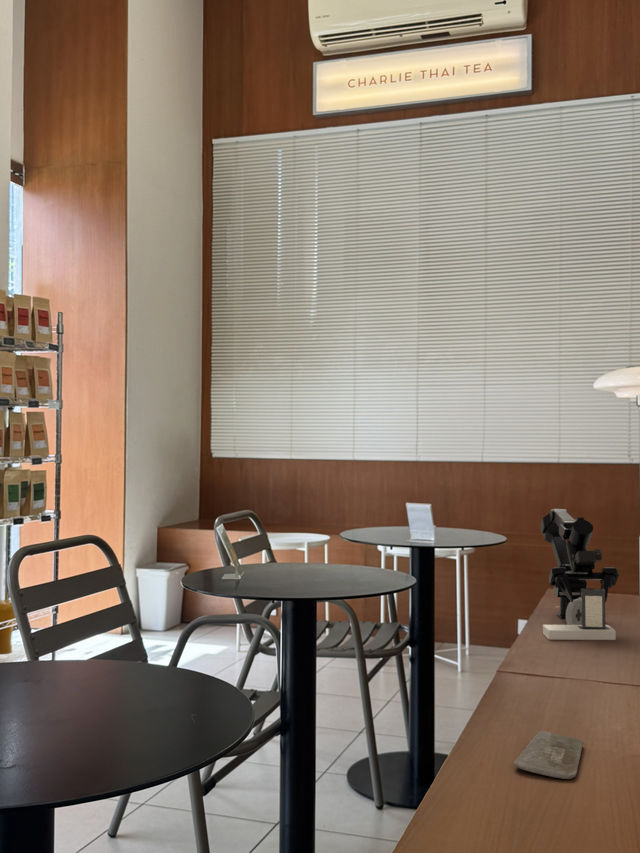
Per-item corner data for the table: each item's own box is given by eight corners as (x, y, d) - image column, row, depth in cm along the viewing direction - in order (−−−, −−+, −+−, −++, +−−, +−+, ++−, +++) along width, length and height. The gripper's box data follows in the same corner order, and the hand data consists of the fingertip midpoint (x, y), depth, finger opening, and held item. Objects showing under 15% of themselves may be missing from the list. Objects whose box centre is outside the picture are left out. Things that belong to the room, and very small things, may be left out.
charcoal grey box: (581, 631, 238) (581, 588, 238) (604, 632, 237) (603, 588, 237) (582, 634, 235) (582, 590, 235) (605, 634, 234) (605, 590, 234)
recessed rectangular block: (543, 633, 240) (543, 624, 240) (608, 634, 239) (608, 625, 239) (548, 639, 233) (548, 630, 233) (615, 639, 232) (615, 630, 232)
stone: (574, 778, 136) (511, 762, 140) (572, 795, 136) (509, 778, 140) (590, 734, 153) (533, 720, 157) (588, 749, 153) (532, 735, 157)
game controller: (572, 631, 243) (572, 602, 243) (565, 630, 245) (565, 601, 245) (603, 620, 257) (603, 593, 257) (596, 619, 259) (595, 592, 259)
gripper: (550, 539, 246) (560, 584, 235) (616, 539, 245) (629, 584, 234) (545, 562, 254) (553, 607, 243) (608, 562, 253) (620, 607, 242)
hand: (589, 601), depth 240 cm, fingers open, 9 cm apart
